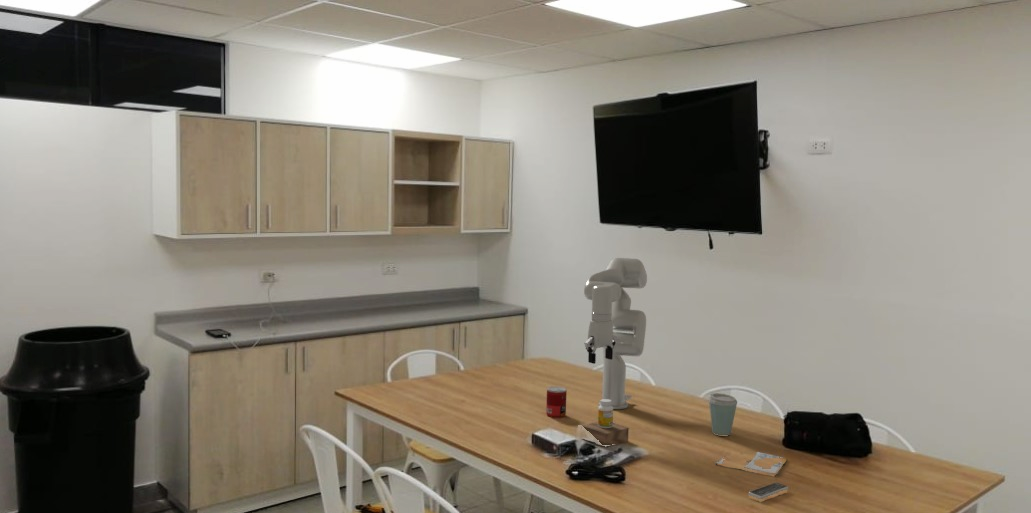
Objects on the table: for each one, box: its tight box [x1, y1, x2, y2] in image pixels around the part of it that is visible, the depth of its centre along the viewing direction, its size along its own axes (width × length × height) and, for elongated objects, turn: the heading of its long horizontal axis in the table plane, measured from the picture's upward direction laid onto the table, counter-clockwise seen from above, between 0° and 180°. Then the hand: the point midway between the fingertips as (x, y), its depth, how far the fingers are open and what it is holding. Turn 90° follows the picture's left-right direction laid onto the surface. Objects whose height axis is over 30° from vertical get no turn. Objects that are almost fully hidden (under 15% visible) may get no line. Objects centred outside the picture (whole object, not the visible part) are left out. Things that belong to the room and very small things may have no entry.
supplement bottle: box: [597, 398, 614, 428], centre depth 285 cm, size 5×5×10 cm
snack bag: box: [715, 451, 784, 474], centre depth 265 cm, size 19×20×2 cm
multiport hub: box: [748, 482, 789, 499], centre depth 237 cm, size 4×14×2 cm, turn 128°
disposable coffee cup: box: [708, 392, 738, 435], centre depth 296 cm, size 11×11×15 cm
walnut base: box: [582, 421, 630, 445], centre depth 286 cm, size 12×12×5 cm
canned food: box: [545, 386, 568, 419], centre depth 316 cm, size 8×8×11 cm
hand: (600, 360), depth 302 cm, fingers open, 9 cm apart
